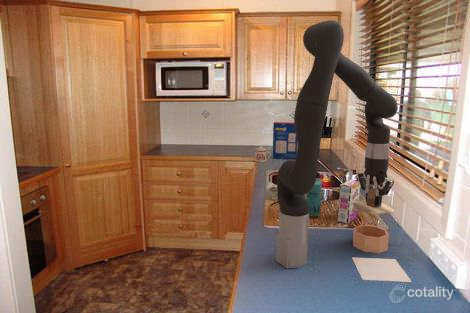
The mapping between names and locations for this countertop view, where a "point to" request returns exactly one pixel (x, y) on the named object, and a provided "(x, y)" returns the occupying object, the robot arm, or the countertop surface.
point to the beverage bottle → (315, 197)
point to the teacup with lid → (261, 154)
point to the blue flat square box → (284, 140)
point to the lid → (373, 205)
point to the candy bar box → (348, 201)
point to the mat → (380, 269)
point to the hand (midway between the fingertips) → (373, 204)
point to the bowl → (370, 238)
